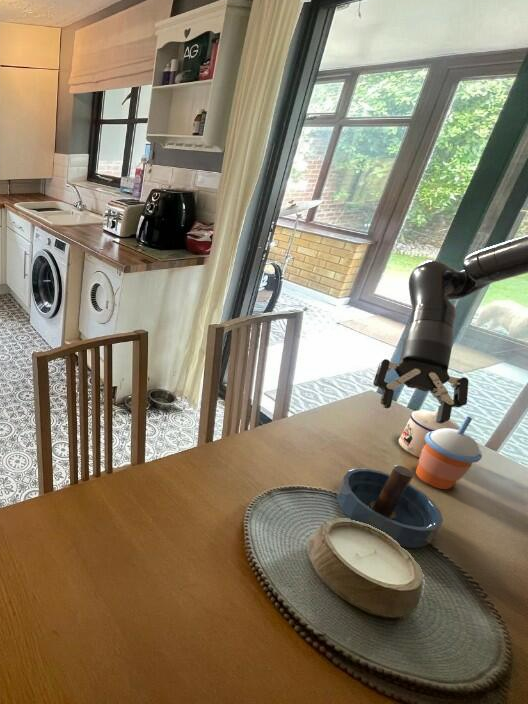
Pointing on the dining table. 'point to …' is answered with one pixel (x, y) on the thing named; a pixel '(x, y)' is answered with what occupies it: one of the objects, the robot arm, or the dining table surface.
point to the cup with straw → (447, 456)
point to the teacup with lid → (421, 430)
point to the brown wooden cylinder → (392, 492)
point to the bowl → (411, 512)
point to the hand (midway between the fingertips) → (413, 414)
